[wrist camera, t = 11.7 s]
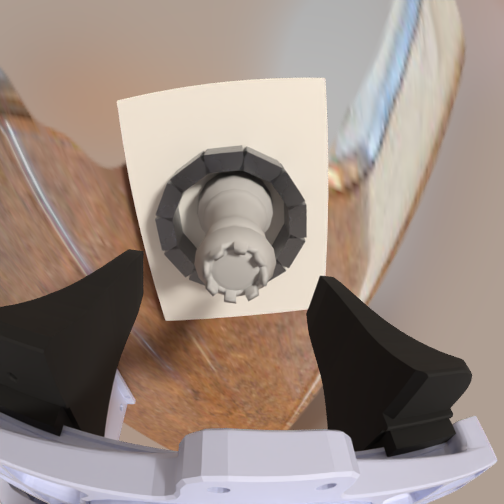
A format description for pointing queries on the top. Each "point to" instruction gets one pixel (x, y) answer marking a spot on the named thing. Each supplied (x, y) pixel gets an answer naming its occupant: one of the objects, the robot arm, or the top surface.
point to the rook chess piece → (235, 236)
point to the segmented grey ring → (223, 161)
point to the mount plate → (225, 135)
